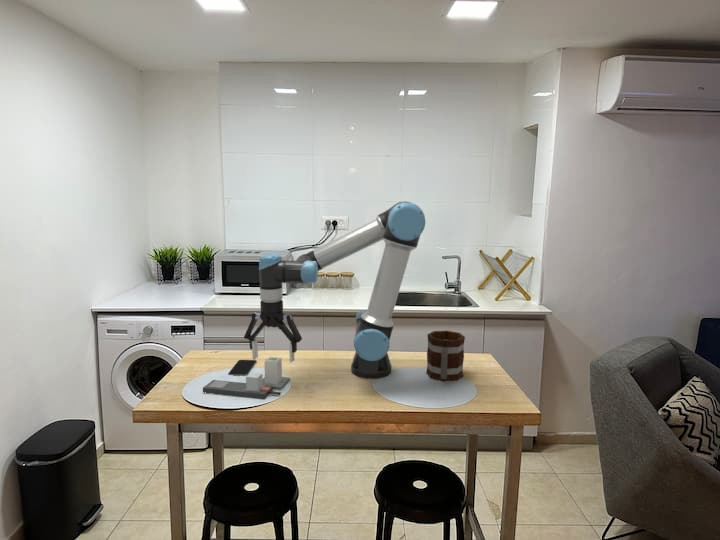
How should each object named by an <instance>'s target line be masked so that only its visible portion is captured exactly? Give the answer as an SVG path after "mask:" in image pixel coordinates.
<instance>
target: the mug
mask: <svg viewBox="0 0 720 540" xmlns="http://www.w3.org/2000/svg"><path fill="white" fill-rule="evenodd" d="M465 339H466V337H465V335H463V334H462V333H461V332H457V331H452V330H433V331H431V332H430V333H428V334H427V351H426V360H427V363H426V371H425V372H426V373H425V374H426V375H427V376H428V378H429V379H430V380H435V381H439V382H442V383H443V382H444V383H446V382H458V381H459V380H460V379H462V378H463V377H464V372H463V371H464V361H465V352H464V351H465V350H464V347H465V345H464V344H465V341H466V340H465Z"/></svg>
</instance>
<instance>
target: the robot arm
mask: <svg viewBox="0 0 720 540" xmlns="http://www.w3.org/2000/svg"><path fill="white" fill-rule="evenodd" d="M425 227H426V216H425V213H424V211H423V209H422V208H421V207H420V206H419V205H418V204H415V203H413V202H410V201H399V202H396V203H395V204H393V205H392V206H391V207H390V208H388V209H386V210H385V211H383V212H381V213H380V214H378V215H377V216H376V219H373V220H372V221H370V222H368V223H366V224H364V225H362V226H360V227H357V228H356V229H354V230H351V231H349V232H347V233H345V234H344V235H341V236H339V237H337V238H335V239H333V240H331V241H329V242H327V243H325V244H323V245H321V246H319V247H317V248H314V249H313V250H311V251H308V252H307V253H303V254H301V255H299V256H298V258H296V259H295V260H283V258H282V256H281V254H278V253H267V254H262V255H261V256H260V257H259V258H258V259H259V260H258V261H259V262H258V274H259V275H258V276H259V298H260V301H259V302H260V313H259V312H258V311H255V312H253V313H252V314H251V320H250V322H249V325H248V327H247V329H246V332H245V334H244V336H243V338H244V340H248V341H249V348H250V350H251V351H252V352H251V353H252V360H257V358H258V357H259V355H258V350H259V349H258V348H259V347H258V339H257V336H258V335H259V334H260V333H261V332H262V330H264V328H265V327H266V328H271V327H272V328H278V329H279V330H280V331H281V332H282V333H283V334H284V335H285V337H286V338H287V340H288V341H290V343H289V345H288V346H289V350H288V351H289V363H293V362H294V361H295V353H296V352H297V349H298V348H297V347H298V346H297V344H298V343H300V342H301V341H302V340H303V337H302V336H301V333H300V332H299V329H298V327H297V325H296V324H295V321H294V319H293V318H294V317H293V314H292V313H289V314H284V301H283V284H314V283H316V282H318V278H319V271H322V270H323V269H325V268H327V267H329V266H331V265H333V264H335V263H337V262H339V261H340V262H341V260H345V258H349V257H350V256H352V255H354V254H357V253H358V252H361V251H362V250H364V249H367V248H369V247H371V246H372V245H375V244H377V243H379V242H381V241H384V243H385V245H384V249H383V252H382V255H381V256H382V257H381V260H380V264H379V268H378V270H377V274H376V277H375V282H374V285H373V288H372V292H371V296H370V298H369V302H368V306H367V310H361V311H357V312H356V314H355V315H356V316H355V333H354V340H353V347H354V350H355V353H354V355H353V358H352V362H351V366H350V372H351V374H352V375H354V376H355V377H358V378H362V379H367V380H368V379H370V380H373V379H383V378H385V377H389V376H390V375H391V374H392V363H391V360H390V356H389V354H388V353H389V349H390V346H391V345H390V339H391V337H392V333H393V330H394V328H395V327H394V326H395V324H394V322H393V320H392V317H393V314H394V310H395V307H396V303H397V299H398V296H399V293H400V290H401V287H402V286H401V285H402V284H403V283H402V282H403V279H404V275H405V273H406V272H405V271H406V270H407V265H408V261H409V259H410V256H411V253H412V251H413V250H415V249H417V247H418V244H419V241H420V237H421V235H422V234H423V231H424V230H425ZM258 319H259V320H261V321H262V322H261V323H260V324H259V325H258V326H257V328H256V329H255V330H254V328H255V326H256V324H257V322H258ZM284 321H286V322H287V325H288V327H287V325H286V323H285V322H284ZM253 331H254V332H253Z"/></svg>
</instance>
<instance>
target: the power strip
mask: <svg viewBox="0 0 720 540" xmlns="http://www.w3.org/2000/svg"><path fill="white" fill-rule="evenodd" d="M203 392H206V393H205V394H209V393H214V394H213V395H218V394H221V395H220V396H229V397H238V398H239V397H240V398H249V399H259V400H265V399H266V398H268V397H269V395H277V396H281V394H282V392H281V391H276V390H273V386H271V385H263V386H262V387H261V388H260V389H259V390H258V391H255V390H247V389H246V382H241V381H231V380H230V381H228V380H217V379H213V380H211V381H210V382H208V383H207V384H206V385H204V386H203V387H202V393H203Z"/></svg>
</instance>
